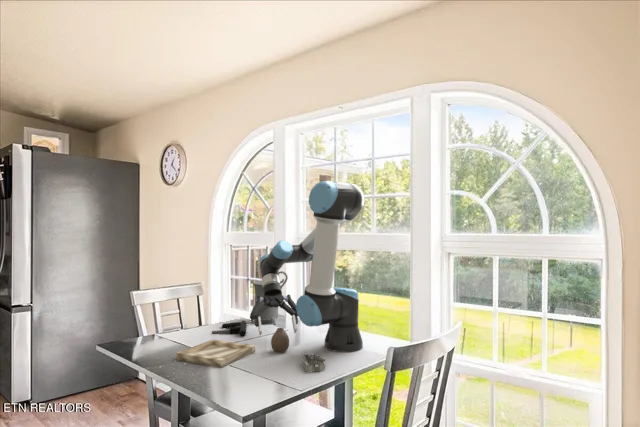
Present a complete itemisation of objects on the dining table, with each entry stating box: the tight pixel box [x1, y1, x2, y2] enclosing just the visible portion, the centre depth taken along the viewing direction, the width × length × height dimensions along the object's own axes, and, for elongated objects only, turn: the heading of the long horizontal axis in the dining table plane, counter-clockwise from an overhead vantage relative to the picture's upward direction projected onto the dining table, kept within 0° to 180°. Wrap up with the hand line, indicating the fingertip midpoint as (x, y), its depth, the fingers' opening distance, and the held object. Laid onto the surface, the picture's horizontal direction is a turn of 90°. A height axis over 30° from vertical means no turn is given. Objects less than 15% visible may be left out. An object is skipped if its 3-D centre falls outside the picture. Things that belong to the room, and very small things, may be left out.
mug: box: [250, 270, 289, 326], centre depth 217 cm, size 19×15×25 cm
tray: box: [175, 339, 256, 369], centre depth 160 cm, size 20×20×2 cm
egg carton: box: [300, 352, 326, 373], centre depth 149 cm, size 11×8×4 cm
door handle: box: [211, 320, 249, 338], centre depth 196 cm, size 3×20×16 cm
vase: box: [270, 327, 290, 354], centre depth 166 cm, size 7×7×9 cm
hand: (278, 332), depth 167 cm, fingers open, 13 cm apart
